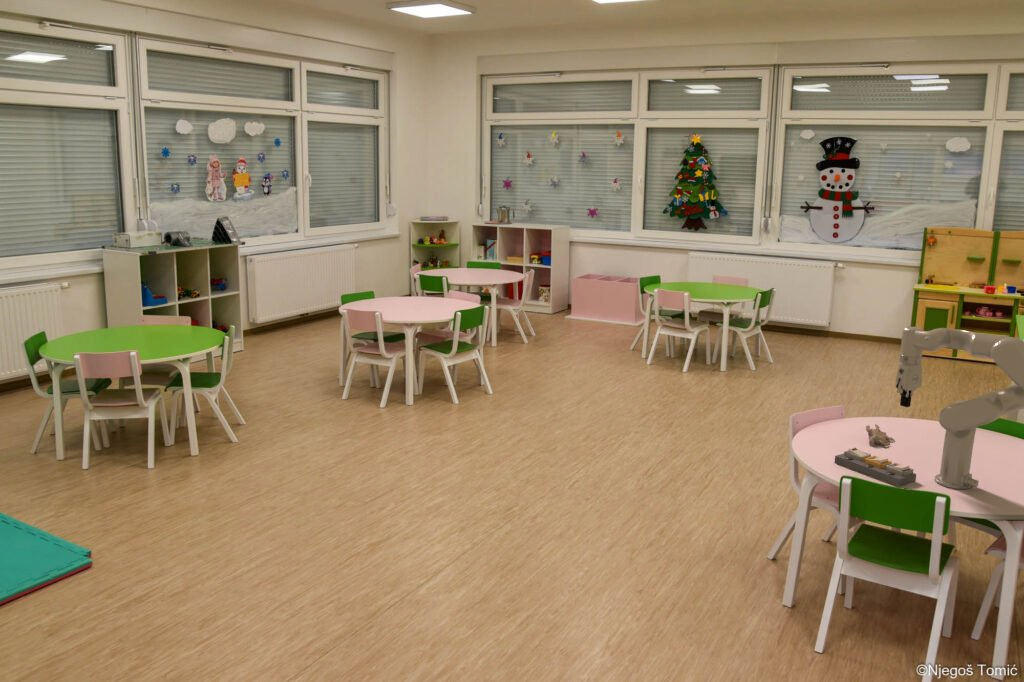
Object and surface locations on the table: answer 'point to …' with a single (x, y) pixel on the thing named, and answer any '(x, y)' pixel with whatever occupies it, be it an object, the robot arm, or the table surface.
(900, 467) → the rocker
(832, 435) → the table surface
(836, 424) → the table surface
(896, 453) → the table surface
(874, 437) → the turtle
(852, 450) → the rocker
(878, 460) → the rocker middle
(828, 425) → the table surface
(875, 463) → the rocker switch panel
